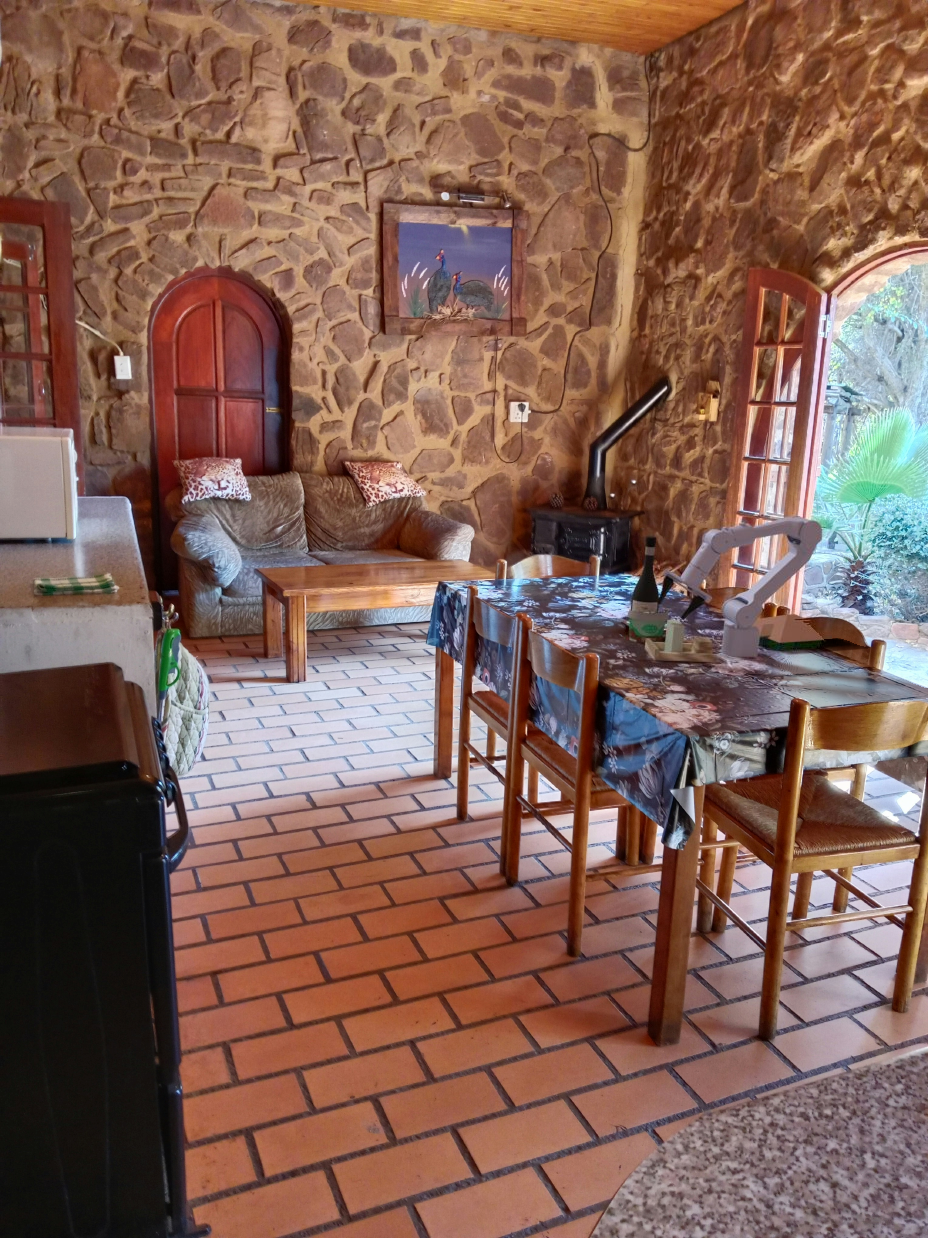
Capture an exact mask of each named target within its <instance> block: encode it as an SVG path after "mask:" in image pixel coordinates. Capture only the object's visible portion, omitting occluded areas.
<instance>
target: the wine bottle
mask: <svg viewBox="0 0 928 1238" xmlns="http://www.w3.org/2000/svg"><path fill="white" fill-rule="evenodd" d="M656 543H657V536H652V535H648V536H645V552H644V562H643V567H642V568H643V569H642V572H641V575H640V577H639V578H638V581H637V583H636V585H635V587H634V589H633V592H632V594H631V595H632V596H631V604H630V610H632V611H636V612H643V611H653V612H659V606H660V605H659V604H658V603H657V602H658V599H659V597H660V594H659V588H658V585H657V581H656V578H655V574H654V573H655V572H654V561H655V552H656V551H655V550H656Z"/></svg>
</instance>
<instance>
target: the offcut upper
mask: <svg viewBox="0 0 928 1238" xmlns="http://www.w3.org/2000/svg"><path fill="white" fill-rule="evenodd" d="M693 643H694V645H695V646H696V647H697V648H698V649H699V650H713V641H712V640H711V639H710V638H709V637H708V636H694V638H693Z"/></svg>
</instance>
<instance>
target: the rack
mask: <svg viewBox="0 0 928 1238" xmlns="http://www.w3.org/2000/svg"><path fill="white" fill-rule="evenodd" d="M692 644H694V642H693V643H689V642H683V650H682V653H671V652H664V649H665V641H661V642H652V641H651V640H650V639H649V638H646V642H645V644H644V650H645V651H646V652H647V653H648V654H649V656H650V657H651V658H652V660H654V661H666V662H667V661H668V662H669V661H670V662H671V661H673V662H703V663H720V661H719V660H718V654H717V653H713V654H702V653H691V652H692Z"/></svg>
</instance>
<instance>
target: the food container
mask: <svg viewBox="0 0 928 1238" xmlns="http://www.w3.org/2000/svg"><path fill="white" fill-rule="evenodd" d="M626 616H627V617H628V618H629V619H628V621H629V622H628V624H629V626H628V637H629V638H628V639H629V641H632V642H634V643H638V644H644V645H645V642H646V638H649V639H650V640H651V641H652V642H663V641H662V640H663V636H664V631H665V626H666V622H667V620H669V613H668V609H667V608H665V609H664V611H658V612H653V611H643V612H636V611H632V610H631V608H630V609H629V610H628V611H627V615H626Z"/></svg>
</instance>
